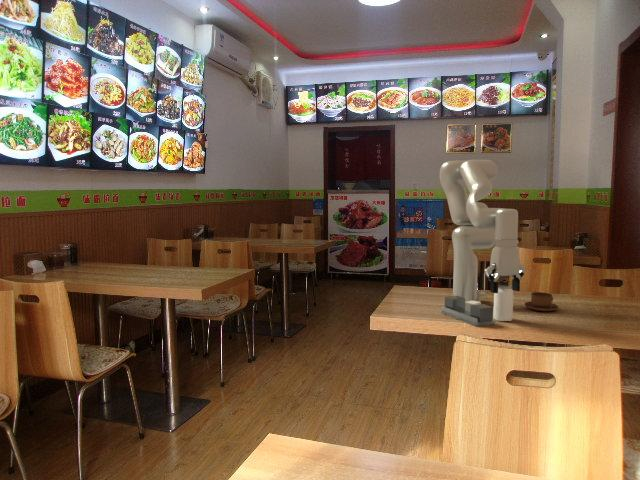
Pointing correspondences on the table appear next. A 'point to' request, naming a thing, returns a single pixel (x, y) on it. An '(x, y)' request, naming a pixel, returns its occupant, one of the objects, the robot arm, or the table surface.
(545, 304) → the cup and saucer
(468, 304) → the block
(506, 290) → the can
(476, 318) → the gray slotted holder
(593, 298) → the table surface
